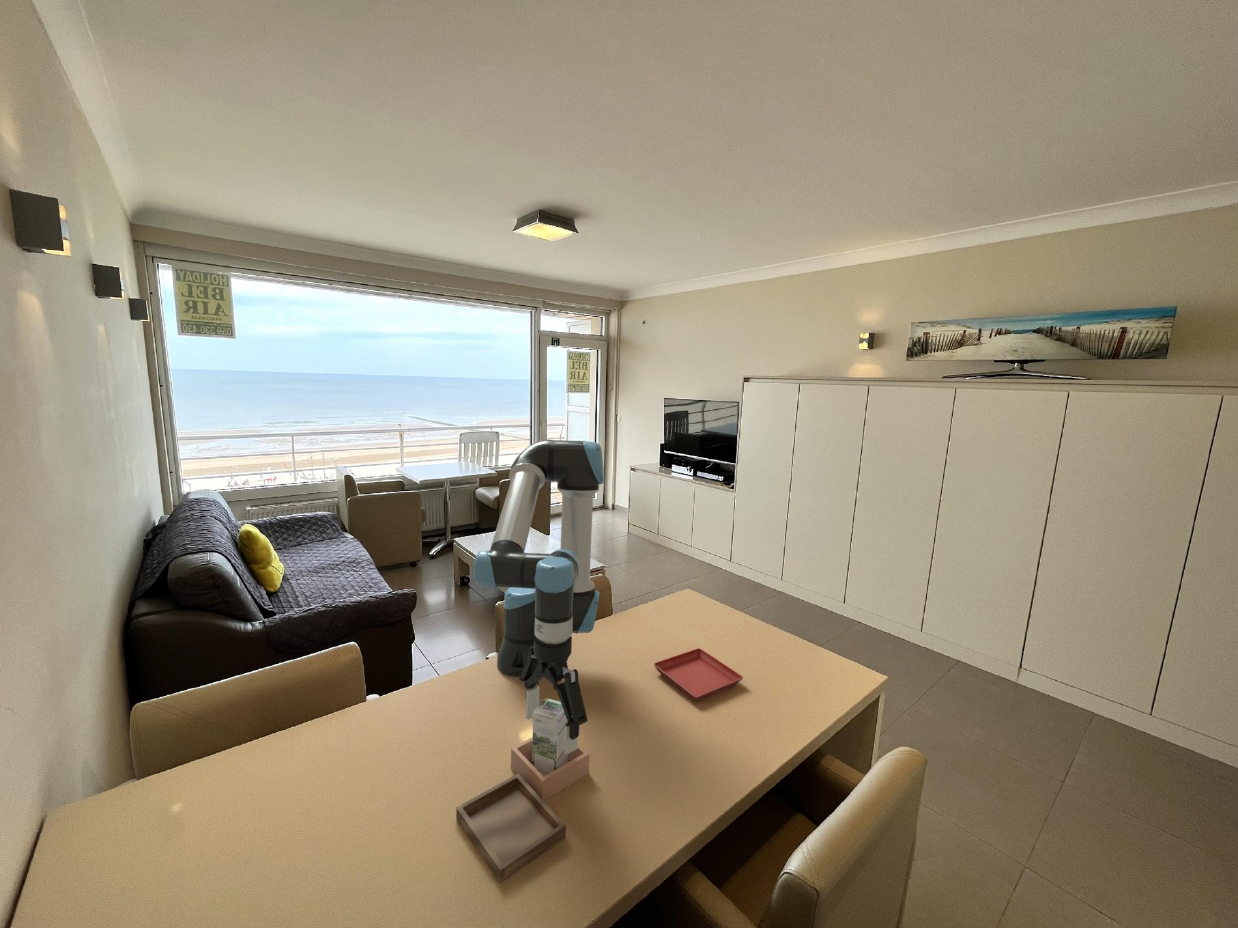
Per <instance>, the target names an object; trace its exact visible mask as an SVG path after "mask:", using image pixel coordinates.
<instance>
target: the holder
mask: <svg viewBox="0 0 1238 928" xmlns="http://www.w3.org/2000/svg"><path fill="white" fill-rule="evenodd" d="M532 743H533V736H532V737H530V738H529V739H526V740H525V741H522V742H521V743H518V744H517V745H515V746H513V747H511V749H510V750H511V751H510V768H511V769H512V771H513V772H514V773H515V775H516V774H519V775H520V776H521V777H522V778H523V779H524V780H525V781H526V782H527V784H528V785H529V786H530V787H531V788H532V789H533V790H534V791H535V792H536V793H537V795H538V796H539V797H540V798H541V799H542V800H543V801H544V802H545V801H546V800H548V799H550V798H551V797H553V796H555V794H557V793H559V792H561V791H563V790H564V789H566V788H567V787H569V786H571V785H572V784H574V783H575V782H578V780H581V779H582V778H584V777H585V776H587V775H588V774H590V755H591V754H590V753H589V752H588V750H586V749H585V748H584V747H583V746H582V745H580V744H579V742H577V749H576V750H574V751H572V752H571V753H569V754H567V760H570V761H567V764H565V765H563V766H561V767H560V768H558V769H556V770H554V771H553V772H551V773H549V774H547V775H546V776H543V775H542V774H541V773H540V772H539V771H538V770H537V769H536V768H535V767H534V766H533V765H532V763H531V762H530V761H532Z"/></svg>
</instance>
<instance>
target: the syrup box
mask: <svg viewBox="0 0 1238 928" xmlns="http://www.w3.org/2000/svg"><path fill="white" fill-rule="evenodd" d="M566 721H567V718H566V715H565V713H564V710H563V707H562V704H561V701H559V700H556V699H553V698H552V699H551V698H548V697H544V698H543V699H542V700H541V702H539V705H538V706H537V708H536V709H535V711H534V712H533V718H532V737H533V743H532V760H531V762H532V763H531V764H532V765H533V766H534V767H535V768H536V769H537V770H538V771H539V772H540V773H541V774H542V775H543V776H546V775H547V774H549V773H551V772H553V771H554V770H556V769H558V768H560V767H561V766H563V765H565V764H567V763H568V758H567V755H566V754H565V753H564V731H565V722H566Z"/></svg>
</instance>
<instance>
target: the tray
mask: <svg viewBox="0 0 1238 928" xmlns="http://www.w3.org/2000/svg"><path fill="white" fill-rule="evenodd" d="M455 811H456V812H455V813H456V815H455V816H456V820H457V822H458V823H459V825H460V827H461V828H462V829H463V831H464V833H465V834H466V835H467V837H468V838H469V839H470V841H471V843H472V845H474V847H475V848H476V850H477V851H478V853H479V854H480V855H481V857H482V859H483V860H484V861H485V864H486V865H487V866H488V867H489V869H490V870H491V872H492V873H493V875H494V877H495V878H496V879H497V880H498V882H499V884H501V883H503V882H505V880H507V879H508V878H511V876H513V875H514V874H515V873H518V872H519V871H520V870H521V869H523V868H525V867H526V866H527V865H529V864H530V863H531V862H533V861H535V859H537V858H539V857H540V856H541V855H543V854H544V853H546V852H547V851H549V850H550V849H551V848H553V847H554V846H556V845H557V844H559V843H560V842H561V841H563V840H565V839H566V836H567V835H566V832H567V830H566V829H567V826H566V824H565V822H563V821H562V820H561V819H560V817H559V816H558V815H557V814H556V813H555V812H554V811H553V810H552V809H551V807H549V805H548V804H547V803H546V802H545V801H543V800H542V799H541V798H540V797H539V796H538V795H537V793H536V792H535V791H534V790H533V789H532V788H531V787H530V786H529V785H528V784H527V782H526V781H525V780H524V779H523V778H522V777H521V776H520V775H519V774H516V773H515V775H512V776H511V777H509V778H507V779H506V780H504V781H501V782H500V783H498V784H496V785H494V786H492V787H491V788H489V789H486V790H485V791H484V792H482V793H480V794H478V795H476V796H474V797H472V798H471V799H469V800H466V801H465V802H463V803H461V804H460V805H458V806H457V807H456V810H455Z"/></svg>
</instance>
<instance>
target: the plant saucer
mask: <svg viewBox="0 0 1238 928" xmlns="http://www.w3.org/2000/svg"><path fill="white" fill-rule="evenodd" d="M653 666H654V668H655V669H656V670H657V672H658V673H659V674H660V675H661V676H662V677H663V678H665V679H666V680H667V681H669V682H670V683H671V684H672V685H674V687H676V688H677V689H679V691H681V692H682V693H684V694H685V695H686V696H688V698H690V699H691V700H693V701H695V702H698V701H701V700H702V699H706V698H707V697H710V696H713V695H714V694H717V693H719V692H723V691H725V690H727V689H728V688H729V689H730V688H732V687H734V686H735V685H737V684H738V683H740V682H741V681H742V680H743V679H744V676H743V675H741V674H739V672H737V671H735V670H734V669H732V668H730V667H729V666H727V665H726V663H725V664H724V663H723V662H722V661H720V660H719V659H717V658H715V657H714V656H712V655H711V654H710V653H708V652H706V651H704V649H701V648H699V647H698V648H695V649H691V650H688V651H686V652H682V653H680V654H677V655H674V656H673V655H672V656H671V657H668V658H665V659H662V660H659V661H656V662H654V663H653Z"/></svg>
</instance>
